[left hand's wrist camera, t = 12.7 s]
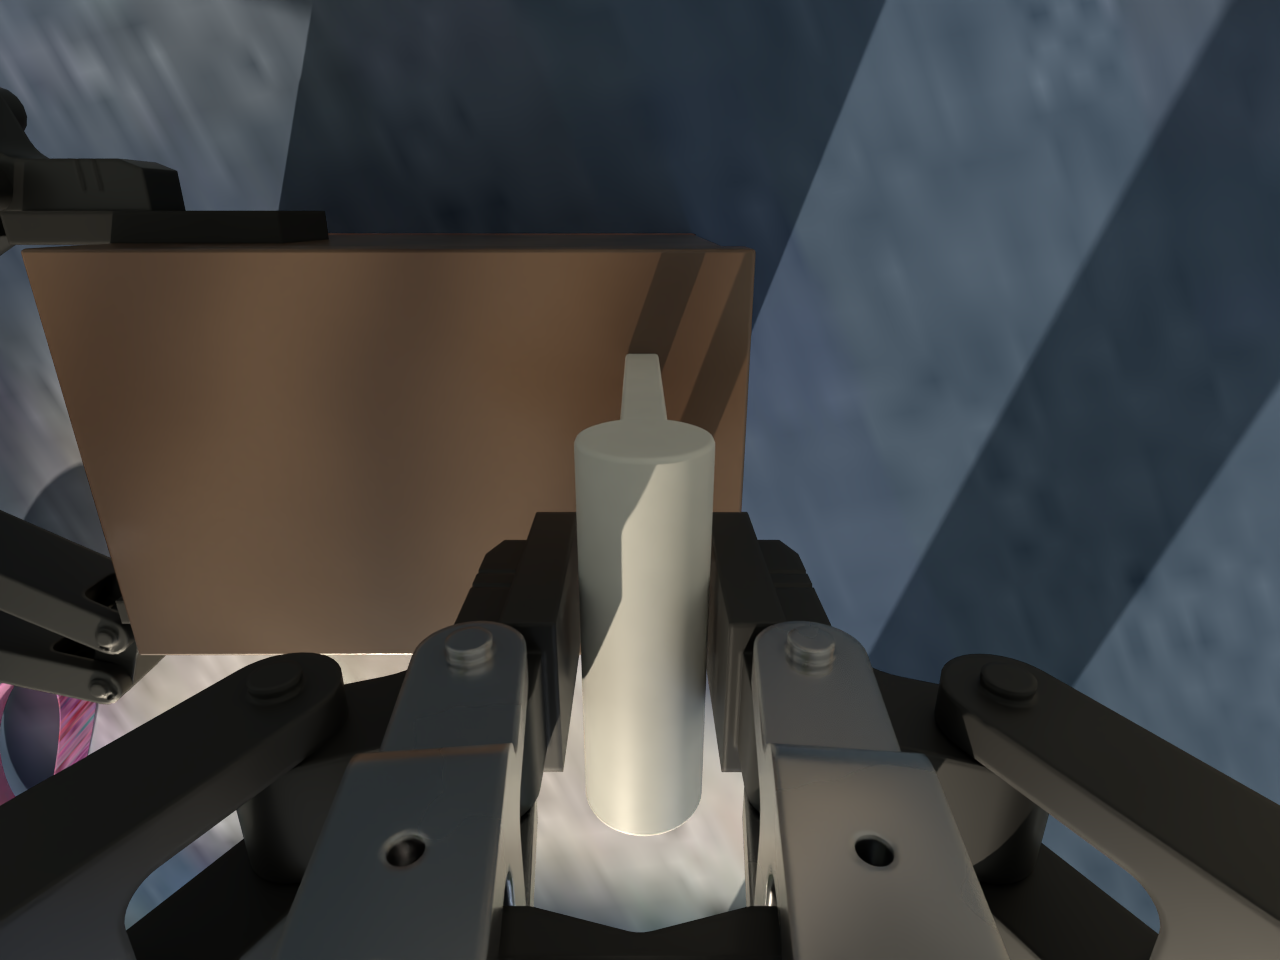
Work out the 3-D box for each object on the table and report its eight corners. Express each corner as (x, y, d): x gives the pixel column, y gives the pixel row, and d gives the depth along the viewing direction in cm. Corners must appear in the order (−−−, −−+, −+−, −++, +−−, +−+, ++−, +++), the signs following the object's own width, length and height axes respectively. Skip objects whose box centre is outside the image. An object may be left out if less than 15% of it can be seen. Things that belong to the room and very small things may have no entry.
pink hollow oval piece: (12, 621, 30) (-34, 651, 28) (109, 651, 30) (72, 683, 28) (-15, 806, 33) (-57, 845, 31) (73, 830, 34) (38, 870, 32)
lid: (747, 246, 16) (864, 283, 8) (727, 628, 19) (794, 935, 11) (65, 245, 16) (-556, 282, 7) (169, 628, 19) (-177, 936, 11)
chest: (693, 233, 24) (724, 245, 16) (686, 495, 28) (708, 627, 19) (273, 233, 24) (66, 245, 16) (318, 496, 28) (169, 628, 19)
